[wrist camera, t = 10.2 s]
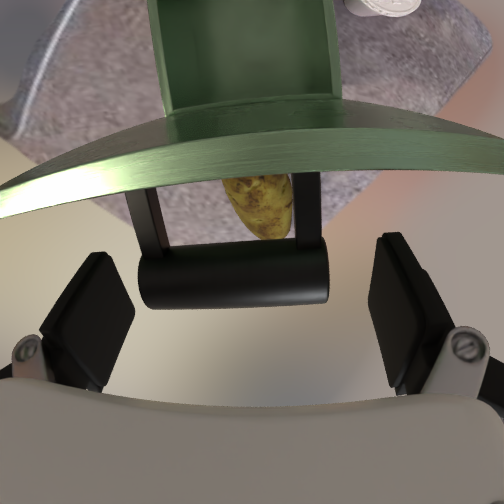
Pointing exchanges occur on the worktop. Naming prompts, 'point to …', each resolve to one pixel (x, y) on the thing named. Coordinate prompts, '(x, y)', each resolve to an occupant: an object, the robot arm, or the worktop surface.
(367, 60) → the worktop surface
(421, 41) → the worktop surface
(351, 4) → the smoothie
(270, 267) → the lid
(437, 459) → the robot arm
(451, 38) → the worktop surface
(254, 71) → the caddy
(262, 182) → the potato
